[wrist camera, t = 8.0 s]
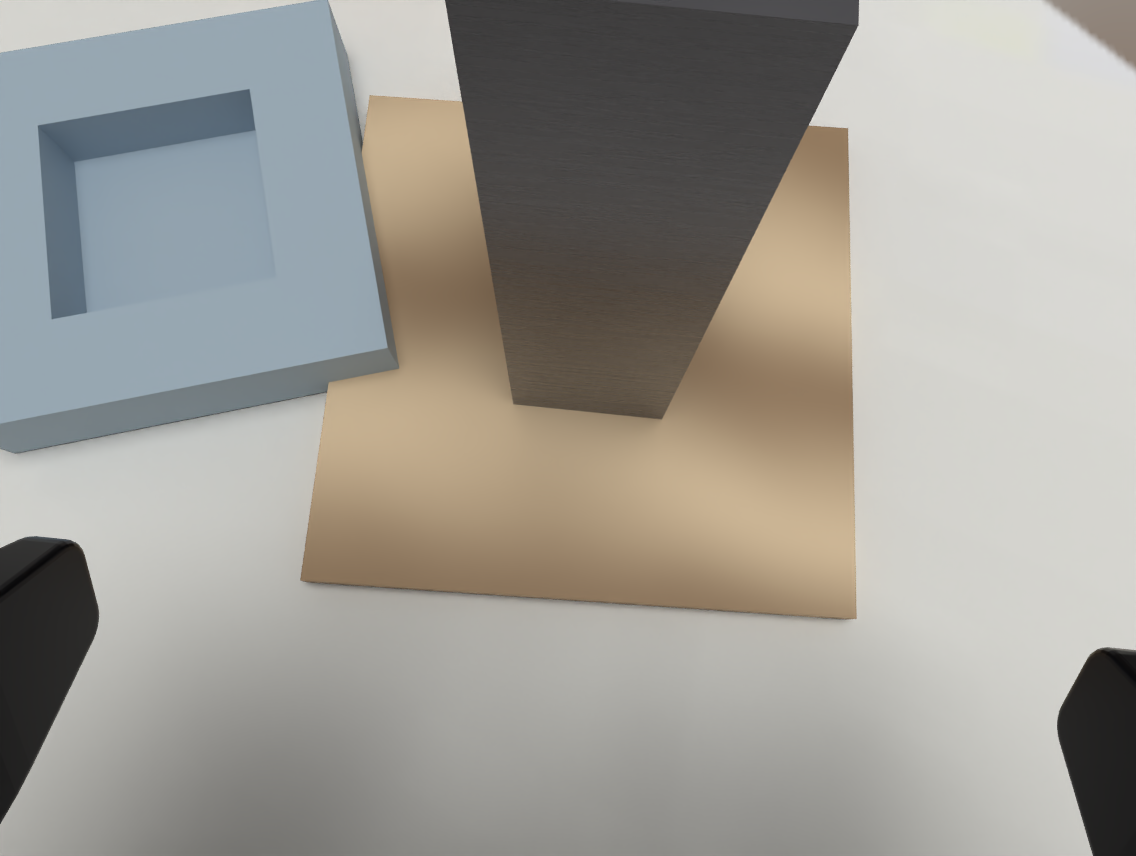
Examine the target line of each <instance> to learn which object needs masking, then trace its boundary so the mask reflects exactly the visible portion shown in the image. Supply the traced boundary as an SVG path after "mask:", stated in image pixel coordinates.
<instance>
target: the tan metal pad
mask: <svg viewBox="0 0 1136 856" xmlns="http://www.w3.org/2000/svg"><path fill="white" fill-rule="evenodd" d="M362 158H363V164H364V169H365V175H366V181H367V187H368V192H369V198H370V204H371V209H372V215H373V221H374V226H375V232H376V238H377V244H378V249H379V255H380V261H381V266H382V272H383V278H384V283H385V289H386V295H387V301H388V306H389V312H390V318H391V323H392V329H393V335H394V340H395V346H396V352H397V358H398V363H399V369H394V370H389V371H384V372H379V373H374V374H369V375H364V376H358V377H353V378H348V379H343V380H338V381H333V382H329V384H328V391H327V397H326V404H325V411H324V418H323V425H322V432H321V439H320V446H319V453H318V460H317V467H316V474H315V481H314V488H313V495H312V502H311V509H310V516H309V523H308V530H307V537H306V544H305V551H304V558H303V565H302V572H301V579H300V580H301V581H305V582H313V583H327V584H342V585H357V586H371V587H386V588H400V589H415V590H429V591H444V592H458V593H473V594H487V595H502V596H516V597H531V598H545V599H560V600H574V601H589V602H603V603H618V604H632V605H647V606H661V607H676V608H690V609H705V610H719V611H734V612H748V613H763V614H777V615H792V616H806V617H821V618H836V619H856V562H855V505H854V448H853V391H852V334H851V277H850V220H849V163H848V128H834V127H820V126H808V127H807V129H806V131H805V133H804V135H803V137H802V139H801V141H800V143H799V145H798V147H797V149H796V151H795V153H794V155H793V157H792V159H791V161H790V163H789V165H788V167H787V169H786V171H785V173H784V175H783V177H782V179H781V182H780V184H779V186H778V188H777V190H776V192H775V194H774V196H773V198H772V200H771V202H770V204H769V206H768V208H767V210H766V212H765V214H764V216H763V218H762V220H761V222H760V224H759V226H758V228H757V230H756V232H755V234H754V236H753V238H752V240H751V242H750V244H749V246H748V248H747V250H746V252H745V254H744V256H743V258H742V260H741V262H740V264H739V266H738V268H737V270H736V272H735V274H734V276H733V278H732V280H731V282H730V284H729V286H728V288H727V290H726V292H725V294H724V296H723V298H722V300H721V302H720V304H719V306H718V308H717V310H716V312H715V314H714V316H713V318H712V320H711V322H710V324H709V326H708V328H707V330H706V332H705V334H704V336H703V338H702V340H701V342H700V344H699V346H698V348H697V350H696V352H695V354H694V356H693V358H692V360H691V362H690V364H689V366H688V368H687V370H686V372H685V374H684V376H683V378H682V380H681V382H680V384H679V386H678V388H677V390H676V392H675V394H674V396H673V398H672V400H671V402H670V404H669V406H668V408H667V410H666V412H665V414H664V416H663V418H662V420H661V419H652V418H642V417H632V416H623V415H613V414H603V413H594V412H584V411H574V410H565V409H555V408H545V407H536V406H526V405H516V404H513V400H512V394H511V388H510V382H509V376H508V370H507V364H506V358H505V352H504V346H503V340H502V334H501V329H500V323H499V317H498V311H497V305H496V299H495V293H494V287H493V281H492V275H491V269H490V263H489V257H488V251H487V246H486V240H485V234H484V228H483V222H482V216H481V210H480V204H479V198H478V192H477V186H476V180H475V174H474V168H473V163H472V157H471V151H470V145H469V139H468V133H467V127H466V121H465V115H464V109H463V103H462V102H459V101H445V100H430V99H416V98H401V97H387V96H373V95H370V98H369V105H368V111H367V118H366V125H365V132H364V139H363V146H362Z"/></svg>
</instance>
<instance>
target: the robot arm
mask: <svg viewBox="0 0 1136 856" xmlns="http://www.w3.org/2000/svg"><path fill="white" fill-rule="evenodd" d="M98 622H99V609H98V604H97V600H96V597H95V593H94V589H93V585H92V581H91V578H90V574H89V570H88V566H87V562H86V559H85V555H84V552H83V550H82V548H81V547H80V546H79V545H78V544H77V543H76V542H73V541H71V540H67V539H57V538H47V537H38V536H34V537H25V538H22V539H19V540H17V541H15V542H13V543H10V544H8V545H6V546H4V547H2V548H0V823H1V822H2V820H3V818H4V817H5V815H6V813H7V812H8V810H9V808H10V806H11V805H12V803H13V801H14V800H15V798H16V796H17V794H18V792H19V791H20V789H21V787H22V785H23V783H24V781H25V779H26V777H27V775H28V773H29V771H30V769H31V768H32V765H33V763H34V761H35V759H36V757H37V755H38V753H39V751H40V749H41V747H42V745H43V743H44V741H45V739H46V737H47V734H48V732H49V730H50V728H51V726H52V724H53V722H54V720H55V718H56V716H57V714H58V712H59V710H60V708H61V706H62V703H63V701H64V699H65V697H66V695H67V693H68V691H69V689H70V687H71V685H72V683H73V681H74V679H75V677H76V675H77V672H78V670H79V668H80V666H81V664H82V662H83V660H84V658H85V656H86V654H87V652H88V650H89V648H90V646H91V644H92V641H93V639H94V637H95V634H96V631H97V627H98ZM1057 730H1058V737H1059V742H1060V745H1061V749H1062V752H1063V755H1064V759H1065V762H1066V766H1067V769H1068V772H1069V776H1070V779H1071V783H1072V786H1073V789H1074V793H1075V796H1076V800H1077V803H1078V806H1079V810H1080V813H1081V817H1082V820H1083V823H1084V827H1085V830H1086V834H1087V837H1088V840H1089V844H1090V847H1091V851H1092V854H1093V856H1136V650H1128V649H1119V648H1109V647H1106V648H1100V649H1097V650H1096V651H1094V652H1093V653H1092V654H1090V656H1089V657H1088V659H1087V660H1086V662H1085V664H1084V666H1083V668H1082V669H1081V671H1080V673H1079V675H1078V677H1077V679H1076V680H1075V682H1074V684H1073V686H1072V688H1071V690H1070V691H1069V693H1068V695H1067V697H1066V699H1065V700H1064V702H1063V704H1062V706H1061V708H1060V711H1059V715H1058V721H1057Z"/></svg>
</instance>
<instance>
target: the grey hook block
mask: <svg viewBox="0 0 1136 856" xmlns="http://www.w3.org/2000/svg"><path fill="white" fill-rule="evenodd" d="M445 2H446V8H447V14H448V20H449V26H450V32H451V38H452V44H453V50H454V56H455V62H456V68H457V74H458V80H459V85H460V91H461V97H462V103H463V109H464V115H465V121H466V127H467V133H468V139H469V145H470V151H471V157H472V163H473V168H474V174H475V180H476V186H477V192H478V198H479V204H480V210H481V216H482V222H483V228H484V234H485V240H486V246H487V251H488V257H489V263H490V269H491V275H492V281H493V287H494V293H495V299H496V305H497V311H498V317H499V323H500V329H501V334H502V340H503V346H504V352H505V358H506V364H507V370H508V376H509V382H510V388H511V394H512V400H513V404H516V405H526V406H536V407H545V408H555V409H565V410H574V411H584V412H594V413H603V414H613V415H623V416H632V417H642V418H652V419H661V420H662V418H663V416H664V414H665V412H666V410H667V408H668V406H669V404H670V402H671V400H672V398H673V396H674V394H675V392H676V390H677V388H678V386H679V384H680V382H681V380H682V378H683V376H684V374H685V372H686V370H687V368H688V366H689V364H690V362H691V360H692V358H693V356H694V354H695V352H696V350H697V348H698V346H699V344H700V342H701V340H702V338H703V336H704V334H705V332H706V330H707V328H708V326H709V324H710V322H711V320H712V318H713V316H714V314H715V312H716V310H717V308H718V306H719V304H720V302H721V300H722V298H723V296H724V294H725V292H726V290H727V288H728V286H729V284H730V282H731V280H732V278H733V276H734V274H735V272H736V270H737V268H738V266H739V264H740V262H741V260H742V258H743V256H744V254H745V252H746V250H747V248H748V246H749V244H750V242H751V240H752V238H753V236H754V234H755V232H756V230H757V228H758V226H759V224H760V222H761V220H762V218H763V216H764V214H765V212H766V210H767V208H768V206H769V204H770V202H771V200H772V198H773V196H774V194H775V192H776V190H777V188H778V186H779V184H780V182H781V179H782V177H783V175H784V173H785V171H786V169H787V167H788V165H789V163H790V161H791V159H792V157H793V155H794V153H795V151H796V149H797V147H798V145H799V143H800V141H801V139H802V137H803V135H804V133H805V131H806V129H807V127H808V125H809V123H810V121H811V119H812V117H813V115H814V113H815V111H816V109H817V107H818V105H819V103H820V101H821V99H822V97H823V95H824V93H825V91H826V89H827V87H828V85H829V83H830V81H831V79H832V77H833V75H834V73H835V71H836V69H837V67H838V65H839V63H840V61H841V59H842V57H843V55H844V53H845V51H846V49H847V47H848V45H849V43H850V41H851V39H852V37H853V35H854V33H855V31H856V29H857V27H858V18H859V0H445Z"/></svg>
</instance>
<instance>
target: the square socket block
mask: <svg viewBox="0 0 1136 856" xmlns="http://www.w3.org/2000/svg"><path fill="white" fill-rule="evenodd" d="M362 146H363V142H362V136H361V130H360V125H359V119H358V113H357V108H356V102H355V96H354V91H353V85H352V79H351V74H350V68H349V62H348V57H347V53H346V50H345V47H344V45H343V42H342V39H341V36H340V33H339V30H338V28H337V25H336V22H335V19H334V16H333V13H332V11H331V8H330V5H329V2H328V0H316V1H310V2H304V3H298V4H292V5H286V6H280V7H274V8H268V9H262V10H256V11H250V12H244V13H238V14H232V15H226V16H220V17H213V18H207V19H201V20H195V21H189V22H183V23H177V24H171V25H165V26H159V27H153V28H147V29H141V30H135V31H129V32H123V33H117V34H111V35H105V36H99V37H93V38H87V39H81V40H75V41H69V42H63V43H57V44H51V45H45V46H39V47H33V48H27V49H21V50H14V51H8V52H2V53H0V448H1V449H4V450H6V451H9V452H12V453H19V452H25V451H30V450H35V449H40V448H45V447H50V446H55V445H60V444H65V443H70V442H75V441H80V440H85V439H90V438H95V437H100V436H105V435H110V434H115V433H120V432H126V431H131V430H136V429H141V428H146V427H151V426H156V425H161V424H166V423H171V422H176V421H181V420H186V419H191V418H196V417H201V416H206V415H211V414H216V413H221V412H227V411H232V410H237V409H242V408H247V407H252V406H257V405H262V404H267V403H272V402H277V401H282V400H287V399H292V398H297V397H302V396H307V395H312V394H317V393H323V392H327V391H328V384H329V382H333V381H338V380H343V379H348V378H353V377H358V376H364V375H369V374H374V373H379V372H384V371H389V370H394V369H399V363H398V358H397V352H396V346H395V340H394V335H393V329H392V323H391V318H390V312H389V306H388V301H387V295H386V289H385V283H384V278H383V272H382V266H381V261H380V255H379V249H378V244H377V238H376V232H375V226H374V221H373V215H372V209H371V204H370V198H369V192H368V187H367V181H366V175H365V169H364V164H363V158H362Z"/></svg>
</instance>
